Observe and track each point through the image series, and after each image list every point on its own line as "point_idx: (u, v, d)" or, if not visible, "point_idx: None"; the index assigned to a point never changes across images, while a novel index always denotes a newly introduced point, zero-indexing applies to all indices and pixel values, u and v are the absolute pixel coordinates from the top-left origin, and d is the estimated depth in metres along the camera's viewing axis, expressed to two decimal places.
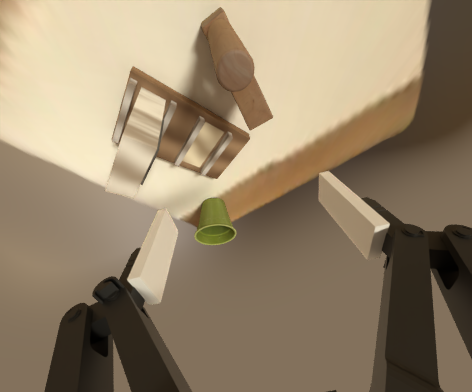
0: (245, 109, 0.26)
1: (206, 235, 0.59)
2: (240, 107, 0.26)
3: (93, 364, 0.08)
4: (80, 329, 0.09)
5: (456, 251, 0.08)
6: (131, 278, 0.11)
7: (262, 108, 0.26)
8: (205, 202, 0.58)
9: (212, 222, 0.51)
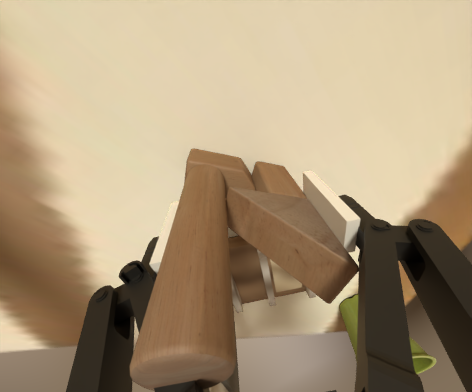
0: (294, 270, 0.13)
1: None
2: (284, 268, 0.14)
3: (116, 345, 0.09)
4: (106, 310, 0.09)
5: (420, 245, 0.09)
6: (153, 263, 0.11)
7: (323, 259, 0.12)
8: (342, 308, 0.39)
9: None
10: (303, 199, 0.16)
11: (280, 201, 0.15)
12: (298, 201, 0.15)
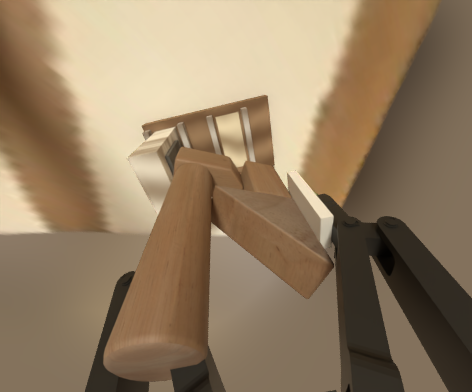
0: (275, 267, 0.14)
1: None
2: (266, 265, 0.14)
3: None
4: None
5: (389, 241, 0.09)
6: None
7: (301, 256, 0.12)
8: None
9: None
10: (288, 198, 0.16)
11: (264, 200, 0.15)
12: (282, 200, 0.16)
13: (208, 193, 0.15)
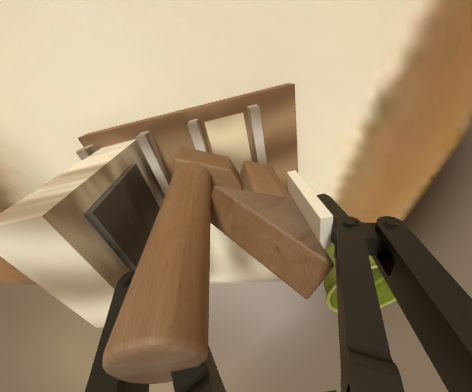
0: (275, 267, 0.13)
1: None
2: (266, 265, 0.14)
3: None
4: None
5: (388, 241, 0.09)
6: None
7: (301, 256, 0.12)
8: None
9: None
10: (287, 198, 0.16)
11: (264, 200, 0.15)
12: (282, 200, 0.16)
13: (207, 193, 0.15)
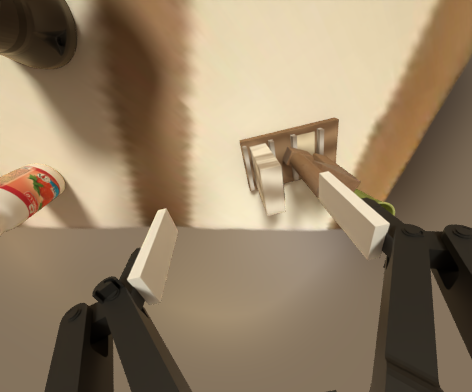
0: None
1: None
2: None
3: (93, 364, 0.08)
4: (80, 329, 0.09)
5: (456, 251, 0.08)
6: (131, 278, 0.11)
7: (349, 181, 0.38)
8: None
9: None
10: (339, 166, 0.42)
11: (332, 166, 0.41)
12: (337, 166, 0.41)
13: (311, 163, 0.41)
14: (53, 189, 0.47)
